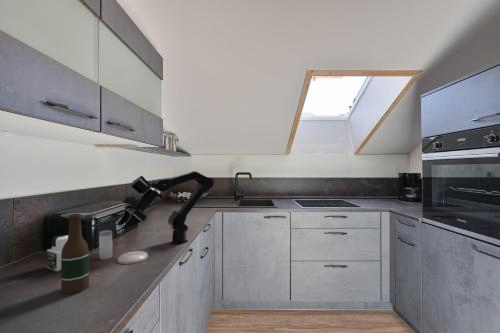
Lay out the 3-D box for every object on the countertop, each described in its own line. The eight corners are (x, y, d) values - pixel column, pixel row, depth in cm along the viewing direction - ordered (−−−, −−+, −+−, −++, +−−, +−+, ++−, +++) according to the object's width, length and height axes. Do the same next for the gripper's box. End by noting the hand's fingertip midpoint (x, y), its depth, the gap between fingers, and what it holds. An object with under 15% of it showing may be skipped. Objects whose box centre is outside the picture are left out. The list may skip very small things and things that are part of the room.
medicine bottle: (46, 268, 96) (46, 237, 96) (67, 261, 103) (66, 232, 103) (56, 271, 93) (55, 239, 93) (76, 265, 99) (76, 235, 99)
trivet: (135, 251, 114) (135, 249, 114) (154, 256, 109) (154, 253, 109) (110, 261, 103) (110, 258, 103) (130, 266, 98) (130, 263, 98)
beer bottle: (67, 297, 75) (66, 217, 74) (55, 291, 79) (55, 215, 79) (94, 287, 81) (94, 213, 81) (82, 281, 85) (82, 211, 85)
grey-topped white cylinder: (107, 254, 111) (107, 229, 111) (114, 256, 109) (114, 231, 109) (97, 258, 107) (96, 232, 106) (104, 260, 104) (103, 233, 104)
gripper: (128, 187, 122) (102, 212, 115) (138, 190, 107) (109, 219, 100) (145, 202, 127) (121, 227, 120) (157, 207, 112) (131, 235, 105)
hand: (120, 227), depth 111 cm, fingers open, 9 cm apart
